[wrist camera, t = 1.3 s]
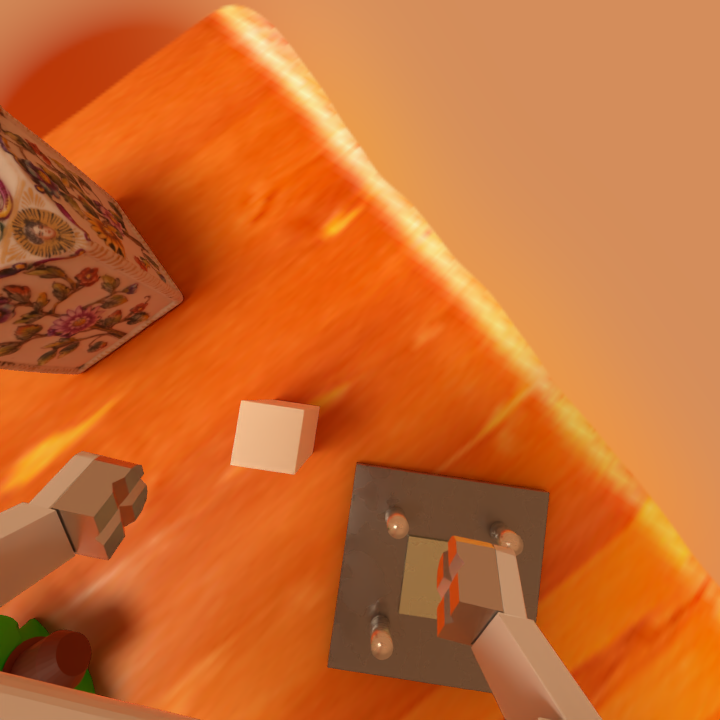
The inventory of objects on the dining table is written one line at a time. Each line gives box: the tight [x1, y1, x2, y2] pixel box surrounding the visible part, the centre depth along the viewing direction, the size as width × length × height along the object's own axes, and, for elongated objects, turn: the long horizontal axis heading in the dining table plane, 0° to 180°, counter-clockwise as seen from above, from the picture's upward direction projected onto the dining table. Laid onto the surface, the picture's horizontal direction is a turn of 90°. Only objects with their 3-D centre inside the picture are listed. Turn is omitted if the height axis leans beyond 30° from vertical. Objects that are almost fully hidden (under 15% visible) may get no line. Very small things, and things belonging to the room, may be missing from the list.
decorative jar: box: [0, 106, 183, 374], centre depth 28 cm, size 12×12×18 cm
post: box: [230, 400, 320, 474], centre depth 31 cm, size 4×4×10 cm
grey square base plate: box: [328, 462, 549, 693], centre depth 33 cm, size 16×16×4 cm
